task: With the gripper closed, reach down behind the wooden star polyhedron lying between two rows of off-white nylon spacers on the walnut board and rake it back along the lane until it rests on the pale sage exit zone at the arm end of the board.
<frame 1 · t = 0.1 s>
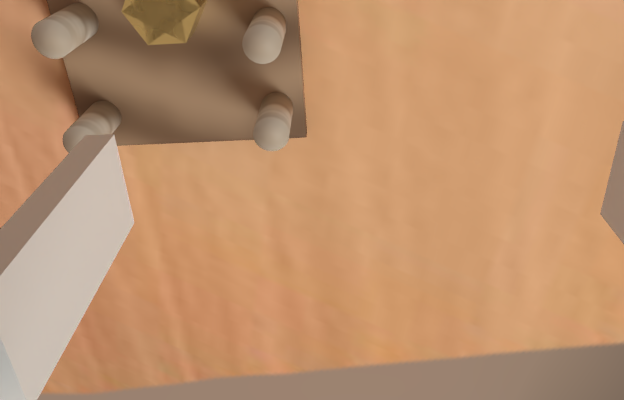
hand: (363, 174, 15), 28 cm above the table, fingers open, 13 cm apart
wooden star polyhedron: (171, 0, 39), point 1 cm above the table, touching board
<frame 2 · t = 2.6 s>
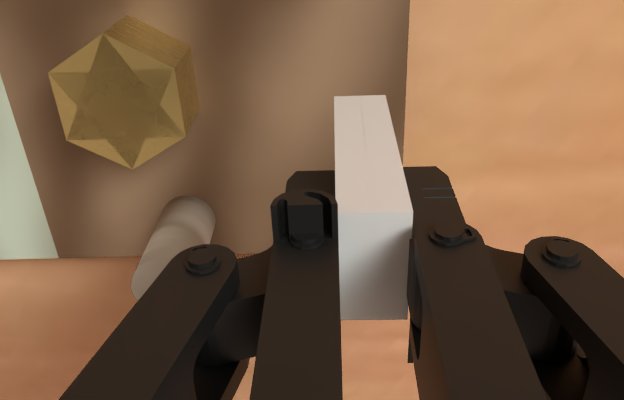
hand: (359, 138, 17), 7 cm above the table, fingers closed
wooden star polyhedron: (140, 80, 23), point 1 cm above the table, touching board
board: (124, 71, 24), on the table
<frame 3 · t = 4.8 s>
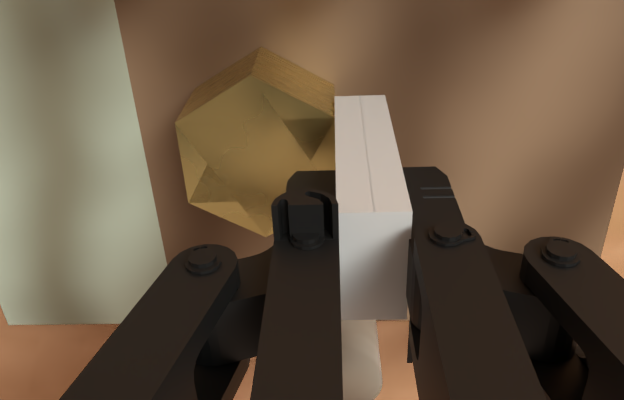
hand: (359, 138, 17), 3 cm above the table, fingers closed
wooden star polyhedron: (267, 124, 19), point 1 cm above the table, touching gripper
board: (278, 109, 20), on the table
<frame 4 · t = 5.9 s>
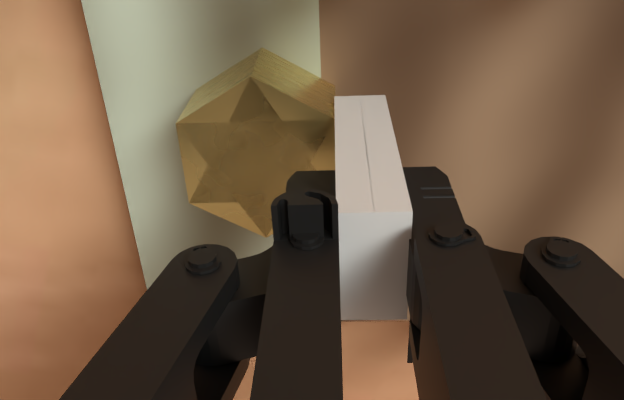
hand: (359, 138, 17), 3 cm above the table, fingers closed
wooden star polyhedron: (268, 124, 19), point 1 cm above the table, touching gripper
board: (455, 104, 20), on the table
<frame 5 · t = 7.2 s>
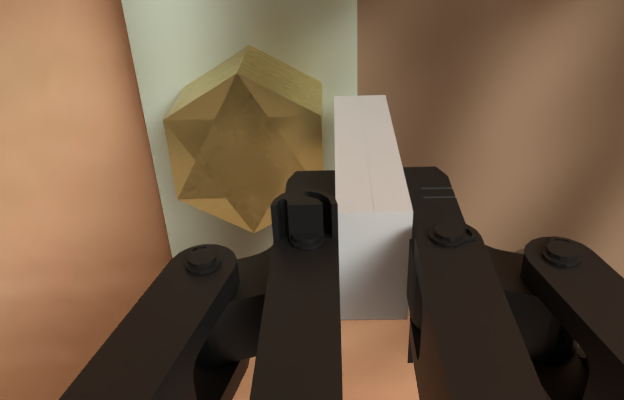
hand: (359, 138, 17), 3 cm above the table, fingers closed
wooden star polyhedron: (256, 121, 19), point 1 cm above the table, touching board
board: (488, 99, 20), on the table
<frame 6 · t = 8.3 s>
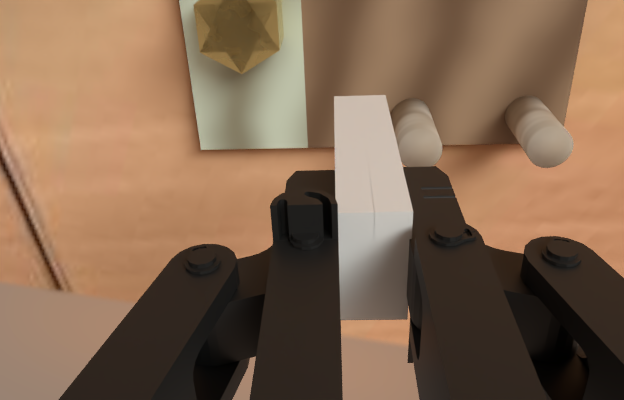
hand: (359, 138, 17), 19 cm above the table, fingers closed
wooden star polyhedron: (244, 16, 33), point 1 cm above the table, touching board
board: (379, 5, 34), on the table
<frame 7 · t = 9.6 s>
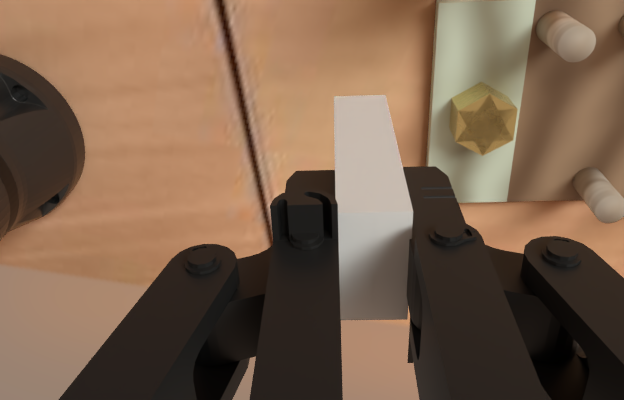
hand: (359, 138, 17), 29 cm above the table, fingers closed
wooden star polyhedron: (478, 112, 46), point 1 cm above the table, touching board
board: (572, 102, 47), on the table
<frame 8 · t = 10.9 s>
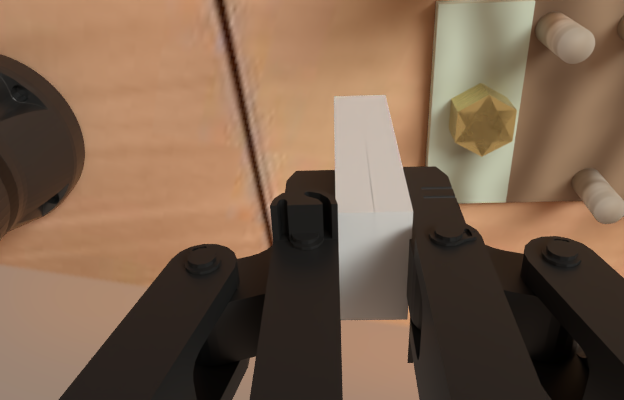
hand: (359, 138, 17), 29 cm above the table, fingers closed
wooden star polyhedron: (477, 113, 47), point 1 cm above the table, touching board
board: (571, 104, 47), on the table
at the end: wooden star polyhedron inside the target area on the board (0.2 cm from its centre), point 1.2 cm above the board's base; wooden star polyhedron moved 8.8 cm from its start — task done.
